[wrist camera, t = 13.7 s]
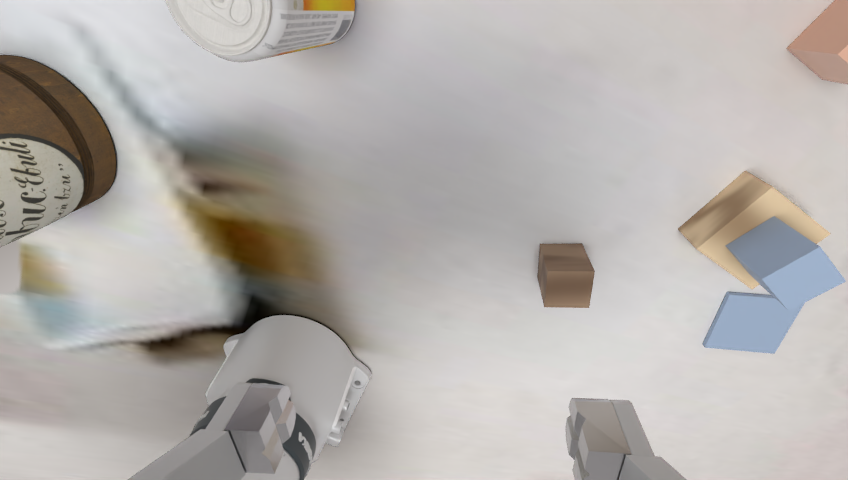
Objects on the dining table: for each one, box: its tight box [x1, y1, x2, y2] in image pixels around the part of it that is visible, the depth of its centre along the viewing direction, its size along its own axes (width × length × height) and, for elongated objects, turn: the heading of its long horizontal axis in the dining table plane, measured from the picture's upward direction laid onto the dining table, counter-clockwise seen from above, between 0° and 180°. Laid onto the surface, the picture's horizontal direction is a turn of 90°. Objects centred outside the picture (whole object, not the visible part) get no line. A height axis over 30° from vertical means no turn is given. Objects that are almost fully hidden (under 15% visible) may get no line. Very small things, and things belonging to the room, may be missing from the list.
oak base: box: [678, 171, 831, 289], centre depth 36 cm, size 7×7×4 cm
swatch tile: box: [703, 292, 805, 353], centre depth 42 cm, size 7×7×1 cm
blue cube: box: [726, 216, 846, 311], centre depth 32 cm, size 4×4×5 cm
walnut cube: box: [538, 244, 595, 308], centre depth 39 cm, size 4×4×5 cm
